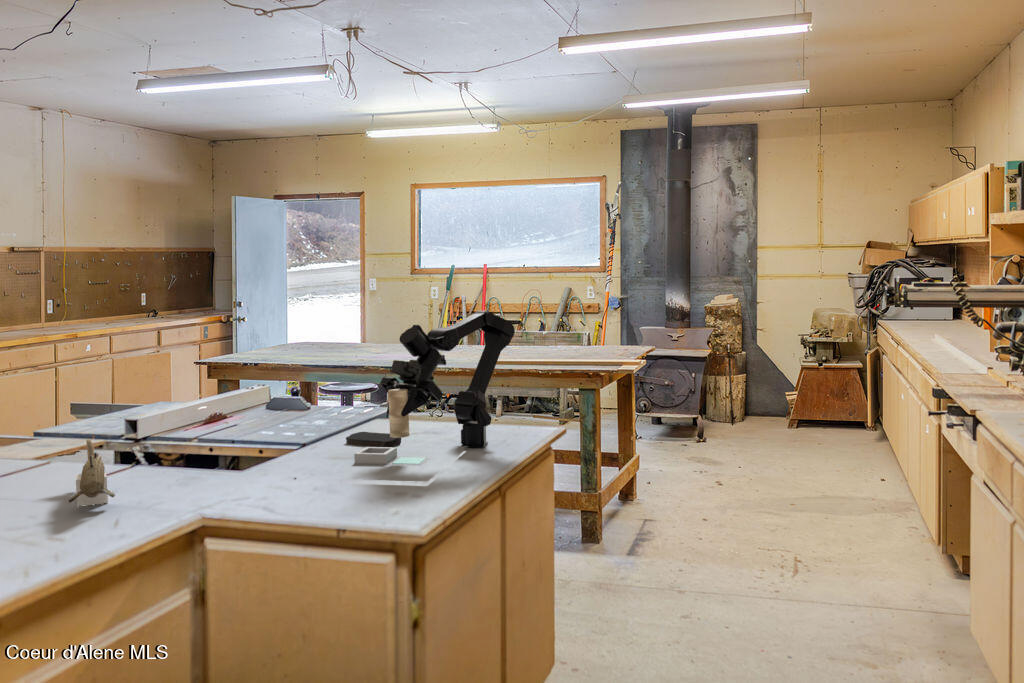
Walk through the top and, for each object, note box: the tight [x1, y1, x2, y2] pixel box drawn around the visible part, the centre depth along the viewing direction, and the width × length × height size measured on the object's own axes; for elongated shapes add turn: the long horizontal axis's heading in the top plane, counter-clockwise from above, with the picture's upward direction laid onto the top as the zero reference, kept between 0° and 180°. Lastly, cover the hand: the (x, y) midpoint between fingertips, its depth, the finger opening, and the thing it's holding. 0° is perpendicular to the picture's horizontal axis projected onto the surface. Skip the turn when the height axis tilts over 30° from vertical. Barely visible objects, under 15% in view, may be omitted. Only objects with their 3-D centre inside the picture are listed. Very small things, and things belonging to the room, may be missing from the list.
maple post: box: [387, 389, 410, 439], centre depth 214 cm, size 5×5×12 cm
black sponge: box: [345, 431, 402, 447], centre depth 239 cm, size 16×8×4 cm, turn 62°
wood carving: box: [68, 438, 116, 506], centre depth 185 cm, size 9×35×11 cm, turn 27°
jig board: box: [353, 446, 431, 466], centre depth 216 cm, size 18×9×4 cm, turn 79°
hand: (395, 414), depth 213 cm, fingers closed on maple post, 5 cm apart
